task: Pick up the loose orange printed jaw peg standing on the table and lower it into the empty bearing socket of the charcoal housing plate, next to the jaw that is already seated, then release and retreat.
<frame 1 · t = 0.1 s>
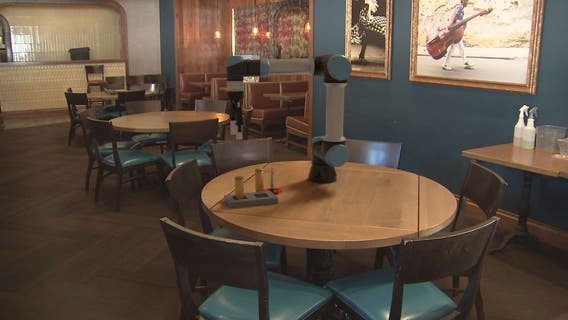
hand: (236, 136, 225), 28 cm above the table, fingers open, 13 cm apart
jaw peg: (259, 193, 233), on the table
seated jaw: (239, 202, 219), resting in housing
tow hook: (272, 192, 237), on the table
housing: (250, 201, 221), on the table
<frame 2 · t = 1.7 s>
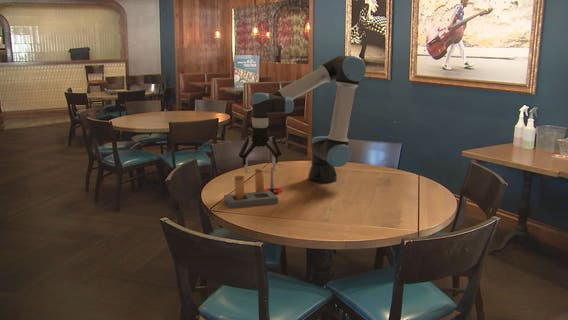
hand: (260, 171, 231), 11 cm above the table, fingers open, 13 cm apart
nothing on the table moved.
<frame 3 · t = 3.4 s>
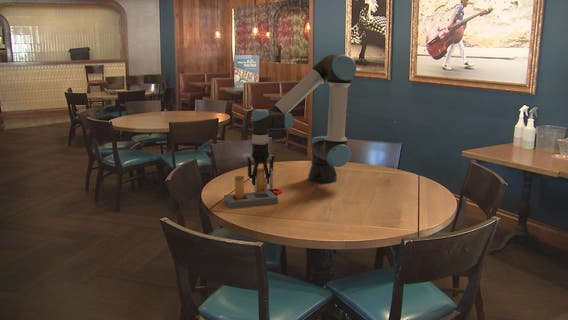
hand: (260, 191, 233), 1 cm above the table, fingers open, 4 cm apart
jaw peg: (260, 193, 233), on the table, touching gripper
tow hook: (273, 192, 235), on the table, touching gripper
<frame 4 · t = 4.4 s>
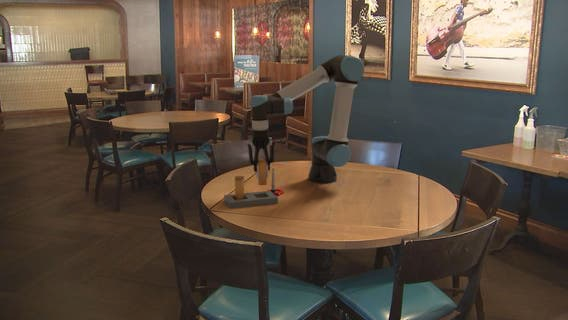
hand: (262, 177, 232), 8 cm above the table, fingers closed on jaw peg, 4 cm apart
jaw peg: (262, 184, 232), point 5 cm above the table, touching gripper
tow hook: (275, 193, 235), on the table
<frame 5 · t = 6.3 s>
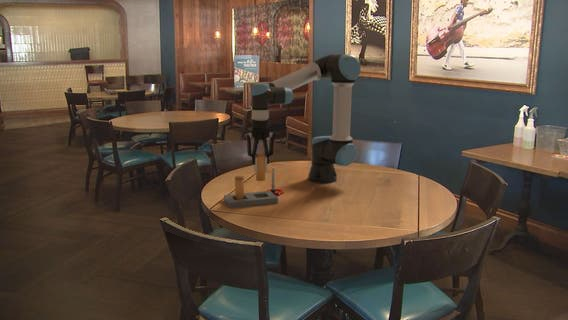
hand: (260, 171, 219), 14 cm above the table, fingers closed on jaw peg, 4 cm apart
jaw peg: (260, 179, 220), point 10 cm above the table, touching gripper
everything else where it was.
when the fingers open (3 cm above the table, at t = 8.7 s): jaw peg stays where it is, resting in housing.
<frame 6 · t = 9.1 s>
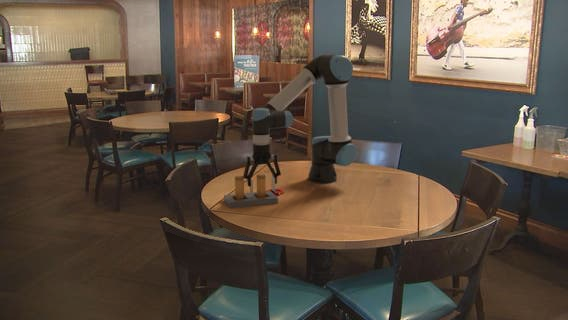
hand: (262, 191, 222), 4 cm above the table, fingers open, 10 cm apart
jaw peg: (261, 200, 222), resting in housing
everything else where it was.
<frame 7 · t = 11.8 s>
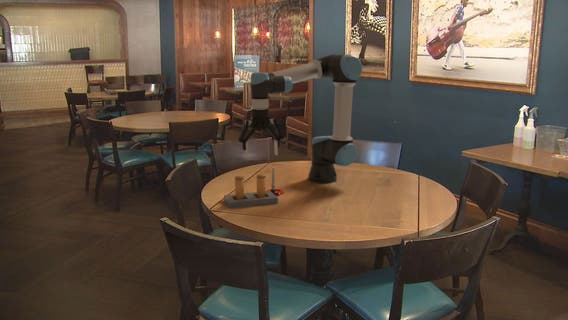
hand: (261, 156, 218), 21 cm above the table, fingers open, 13 cm apart
nothing on the table moved.
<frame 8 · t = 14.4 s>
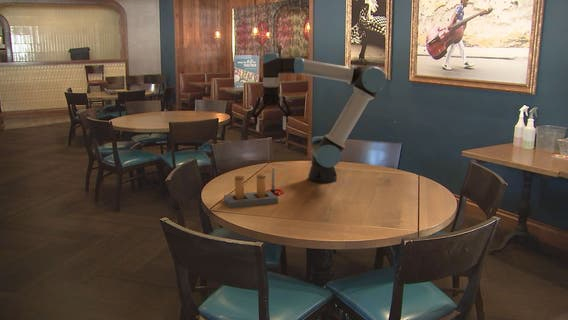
hand: (271, 130, 238), 29 cm above the table, fingers open, 13 cm apart
nothing on the table moved.
at the end: jaw peg 0.2 cm from the target spot on the housing, point 0.0 cm above the housing's base; jaw peg tilted 0°; the gripper is holding nothing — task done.
